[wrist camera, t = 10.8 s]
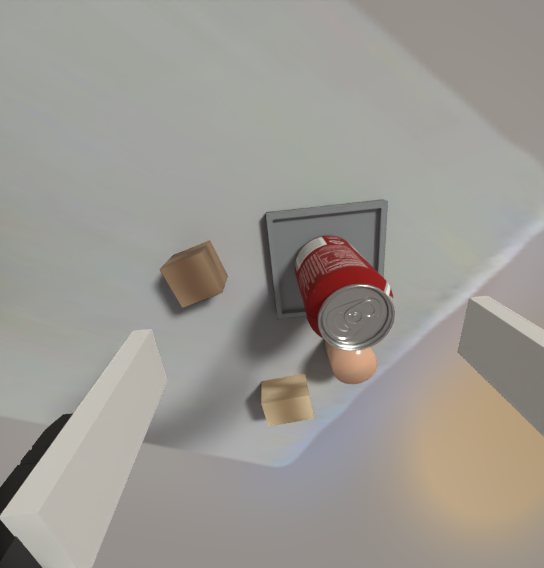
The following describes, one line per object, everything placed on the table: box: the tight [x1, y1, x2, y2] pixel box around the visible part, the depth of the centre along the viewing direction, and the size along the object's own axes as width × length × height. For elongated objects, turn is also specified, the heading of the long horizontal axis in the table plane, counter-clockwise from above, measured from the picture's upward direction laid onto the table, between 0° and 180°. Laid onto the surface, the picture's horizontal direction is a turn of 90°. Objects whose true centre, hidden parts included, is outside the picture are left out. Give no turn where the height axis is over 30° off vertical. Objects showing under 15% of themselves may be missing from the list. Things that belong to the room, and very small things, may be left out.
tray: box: [266, 200, 388, 319], centre depth 32 cm, size 12×12×1 cm
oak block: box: [261, 374, 314, 426], centre depth 38 cm, size 6×4×4 cm, turn 102°
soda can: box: [295, 235, 395, 351], centre depth 26 cm, size 7×7×12 cm
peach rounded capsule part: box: [324, 340, 377, 384], centre depth 34 cm, size 5×5×5 cm
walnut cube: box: [160, 241, 228, 308], centre depth 30 cm, size 4×4×4 cm
